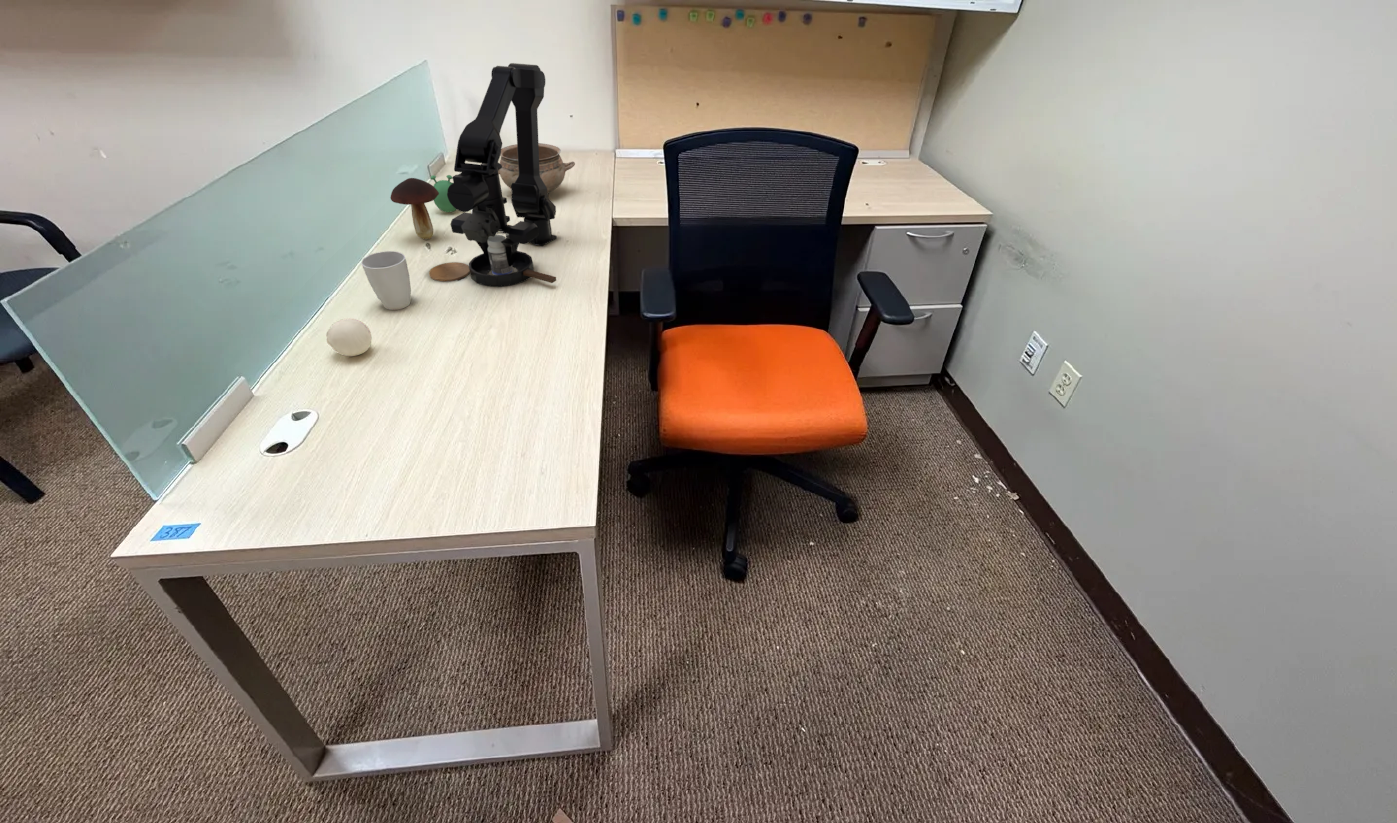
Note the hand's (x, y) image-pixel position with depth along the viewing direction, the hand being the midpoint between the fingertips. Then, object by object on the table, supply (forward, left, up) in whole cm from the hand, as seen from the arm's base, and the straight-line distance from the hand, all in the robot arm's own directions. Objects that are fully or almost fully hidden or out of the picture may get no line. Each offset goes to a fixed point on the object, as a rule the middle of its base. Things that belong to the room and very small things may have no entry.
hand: (501, 263), depth 137 cm
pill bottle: (0, 0, -2) cm, 2 cm away
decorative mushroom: (-5, -30, -2) cm, 30 cm away
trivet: (+6, -10, -2) cm, 12 cm away
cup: (+23, -9, -2) cm, 24 cm away
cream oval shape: (+40, -1, -2) cm, 40 cm away
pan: (0, +4, -2) cm, 5 cm away
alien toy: (-22, -39, -2) cm, 45 cm away
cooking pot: (-46, -28, -2) cm, 54 cm away
